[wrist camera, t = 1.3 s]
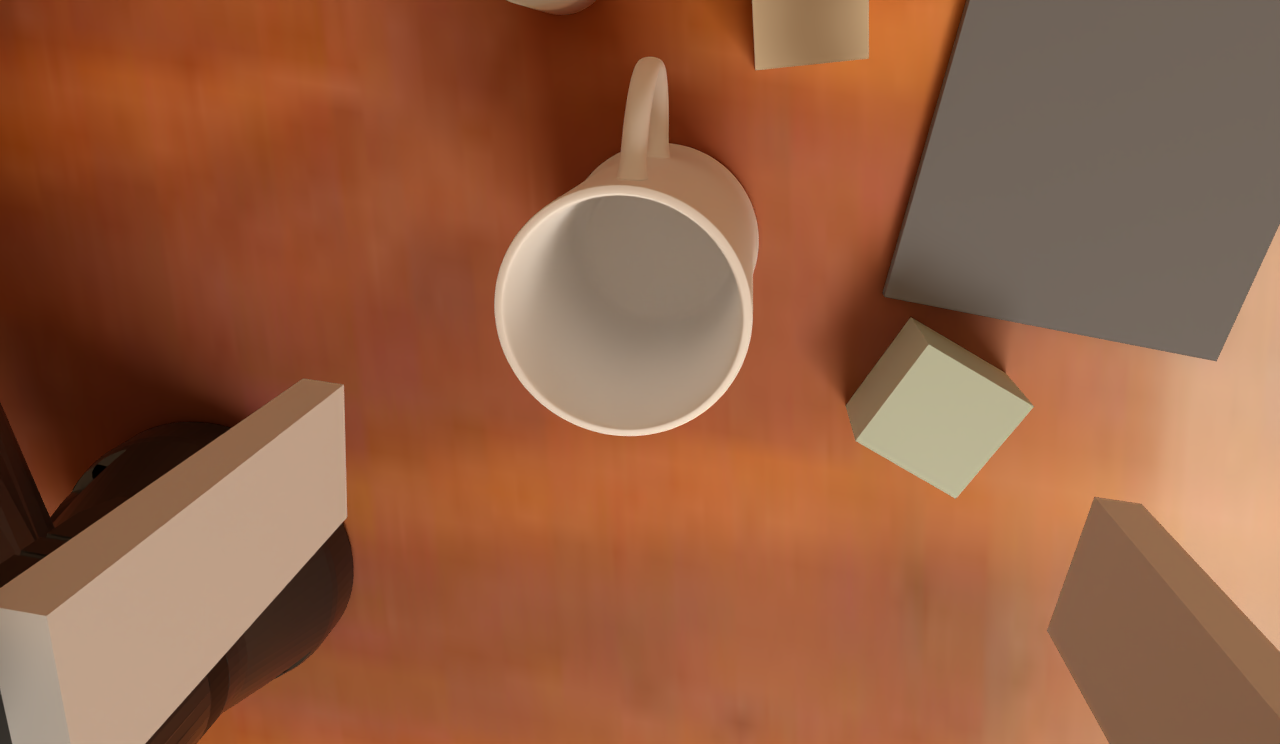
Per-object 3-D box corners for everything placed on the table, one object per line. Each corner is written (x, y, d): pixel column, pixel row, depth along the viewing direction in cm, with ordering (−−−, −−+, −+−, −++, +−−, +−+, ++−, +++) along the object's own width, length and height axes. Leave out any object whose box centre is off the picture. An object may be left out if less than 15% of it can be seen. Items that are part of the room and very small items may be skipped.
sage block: (845, 404, 37) (855, 440, 34) (910, 316, 36) (928, 344, 32) (936, 456, 38) (955, 498, 34) (1004, 372, 36) (1033, 406, 32)
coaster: (882, 293, 35) (884, 296, 35) (984, -63, 30) (988, -65, 30) (1209, 356, 34) (1216, 361, 34) (1370, 1, 29) (1382, 0, 29)
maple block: (755, 70, 33) (755, 70, 29) (749, -38, 32) (749, -53, 28) (855, 59, 32) (868, 58, 29) (854, -52, 31) (868, -68, 27)
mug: (586, 47, 33) (502, 34, 22) (791, 77, 33) (811, 79, 22) (559, 316, 38) (477, 419, 26) (739, 347, 37) (734, 465, 26)
